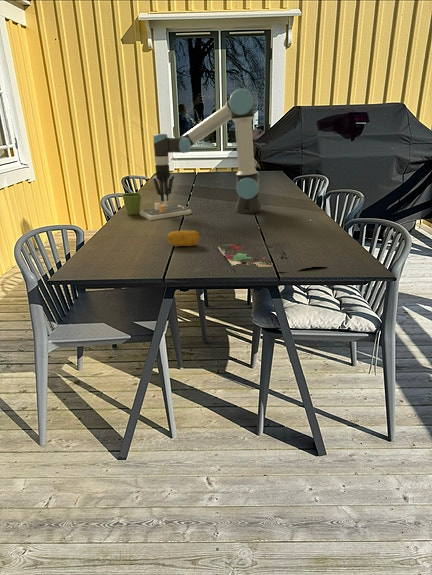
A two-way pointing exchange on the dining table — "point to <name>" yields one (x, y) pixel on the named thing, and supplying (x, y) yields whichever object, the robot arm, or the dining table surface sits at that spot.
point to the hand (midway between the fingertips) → (165, 206)
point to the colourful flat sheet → (239, 256)
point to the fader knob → (162, 208)
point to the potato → (183, 238)
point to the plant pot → (132, 202)
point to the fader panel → (170, 212)
